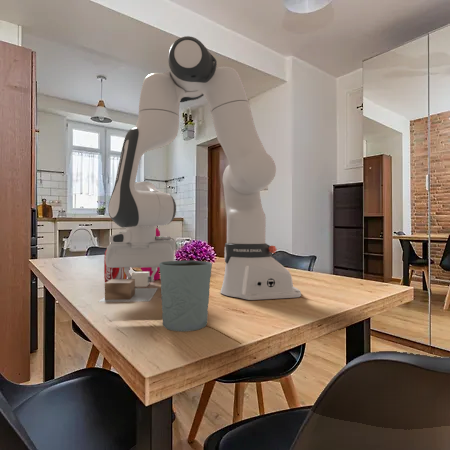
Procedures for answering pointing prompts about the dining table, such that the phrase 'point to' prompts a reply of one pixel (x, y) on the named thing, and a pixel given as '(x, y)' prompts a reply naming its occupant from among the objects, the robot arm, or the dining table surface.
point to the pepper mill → (149, 269)
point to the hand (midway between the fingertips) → (140, 282)
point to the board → (137, 295)
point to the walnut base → (119, 289)
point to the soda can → (113, 272)
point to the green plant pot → (185, 294)
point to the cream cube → (141, 278)
